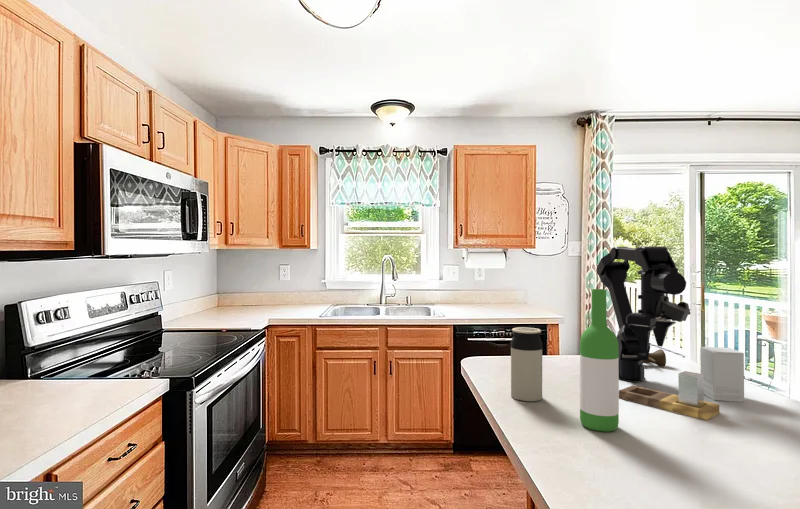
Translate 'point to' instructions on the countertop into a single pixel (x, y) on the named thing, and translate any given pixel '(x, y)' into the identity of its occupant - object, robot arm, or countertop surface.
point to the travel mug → (526, 364)
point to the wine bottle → (599, 370)
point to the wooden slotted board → (667, 402)
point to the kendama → (657, 358)
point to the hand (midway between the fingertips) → (652, 348)
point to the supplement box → (723, 373)
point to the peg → (691, 389)
